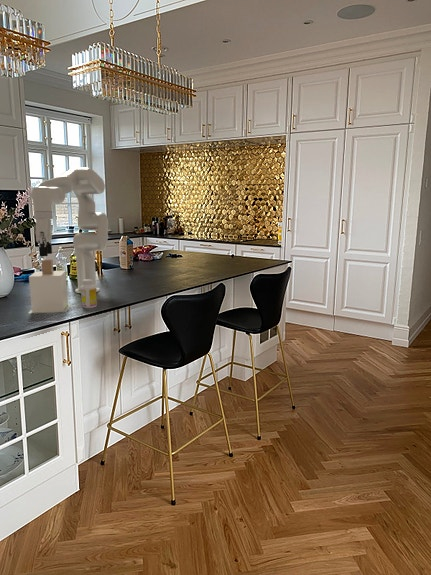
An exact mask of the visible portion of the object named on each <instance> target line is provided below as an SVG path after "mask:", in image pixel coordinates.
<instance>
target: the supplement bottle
mask: <svg viewBox="0 0 431 575" xmlns="http://www.w3.org/2000/svg"><path fill="white" fill-rule="evenodd" d="M96 287H97V285H96V286H95V285H93V279H84V280H83V285H82V286H81V293H80V294H81V306H82V308H85V309H90V308H91V309H93V308H96V307H97V306H98V301H97V298H98V297H97V292H96Z"/></svg>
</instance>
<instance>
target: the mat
mask: <svg viewBox="0 0 431 575" xmlns="http://www.w3.org/2000/svg"><path fill="white" fill-rule="evenodd" d="M71 305H72V303H69V302H68V305H67V307H66V308H65V310H64V311H56V312H55V313H66V312H67V311H68V310H69V308H70V307H71ZM48 313H49V314H50V313H53V314H54V312H32V309H30V310H29V311H28V314H29V315H30V314H48Z"/></svg>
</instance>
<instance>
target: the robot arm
mask: <svg viewBox="0 0 431 575" xmlns="http://www.w3.org/2000/svg"><path fill="white" fill-rule="evenodd" d="M105 189H106V185H105V181H104V179H103V178H102V176H100V175H99V174H98V173H97V172H96V171H95V170H94V169H92V168H90V167H71V168H69V169H67V170H66V171H65V172H63V173H62V174H60V175H59V176H56V177H54V178H51V179H46V180H44V181H42V182H40V183H38V184H36V186H34V187H32V190H31V193H30V197H31V199H32V207H33V218H34V220H35V242H37V243H38V252H39V257H48V256H49V255H51V254H52V253H53V247H52V240H53V239H52V236H53V234H52V222H51V220H53V219H54V218H53V205H60V204H62V203H63V202H64V201H65V199H66V194H69V193H71V192H72V191H73V193H74V195H75V197H76V199H77V202H78V212H77V213H78V214H77V226H78V228H79V229H80V230H82V231H96V232H77V233H75V235H74V236H73V238H72V241H73V242H72V243H73V248H74V251H75V258H76V259H75V260H76V275H77V278H76V279H77V288H76V289H74V292H75V293H77V294H81V286H82V285H83V280H84V279H93V285H95V286H96V293H97V292H99V291H100V287H97V277H96V273H97V272H96V259H95V256H94V254H93V253H92V252H95V251H97V252H102V251H105V250H106V248H107V246H108V237H109V236H108V235H109V218H108V215H106V213H103V212H99V211H98V212H96V202H95V201H94V199H93V197H92V196H91V195H101V194H102V193H104V192H105Z"/></svg>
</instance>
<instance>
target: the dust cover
mask: <svg viewBox="0 0 431 575" xmlns="http://www.w3.org/2000/svg"><path fill="white" fill-rule="evenodd" d="M40 263H41V271H39V270H38V271H35V272H33V273H32V274H31V275H28V282H29V283H28V284H29V292H30V303H31V306H30V307H31V310H32V312H53V313H57V312H56V311H64V310H65V308H66V307H67V305H68V304H69V298H68V296H69V294H68V284H67V283H68V282H67V270H54V264H53V263H54V260H53V259H42V260H41V261H40Z"/></svg>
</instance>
